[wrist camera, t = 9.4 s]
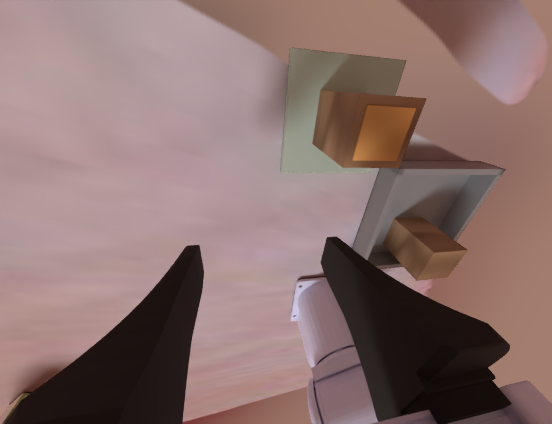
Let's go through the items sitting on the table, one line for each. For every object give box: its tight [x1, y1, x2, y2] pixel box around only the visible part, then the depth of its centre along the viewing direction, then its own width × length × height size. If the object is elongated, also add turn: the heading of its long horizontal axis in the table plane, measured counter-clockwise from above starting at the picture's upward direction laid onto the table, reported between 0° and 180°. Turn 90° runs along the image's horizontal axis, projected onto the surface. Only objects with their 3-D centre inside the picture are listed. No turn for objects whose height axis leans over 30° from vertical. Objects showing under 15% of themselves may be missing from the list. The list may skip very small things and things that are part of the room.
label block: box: [312, 90, 426, 168], centre depth 14 cm, size 4×4×6 cm
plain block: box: [383, 217, 468, 281], centre depth 24 cm, size 4×4×6 cm
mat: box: [280, 48, 406, 173], centre depth 17 cm, size 9×9×1 cm
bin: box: [352, 160, 505, 269], centre depth 24 cm, size 13×12×2 cm
